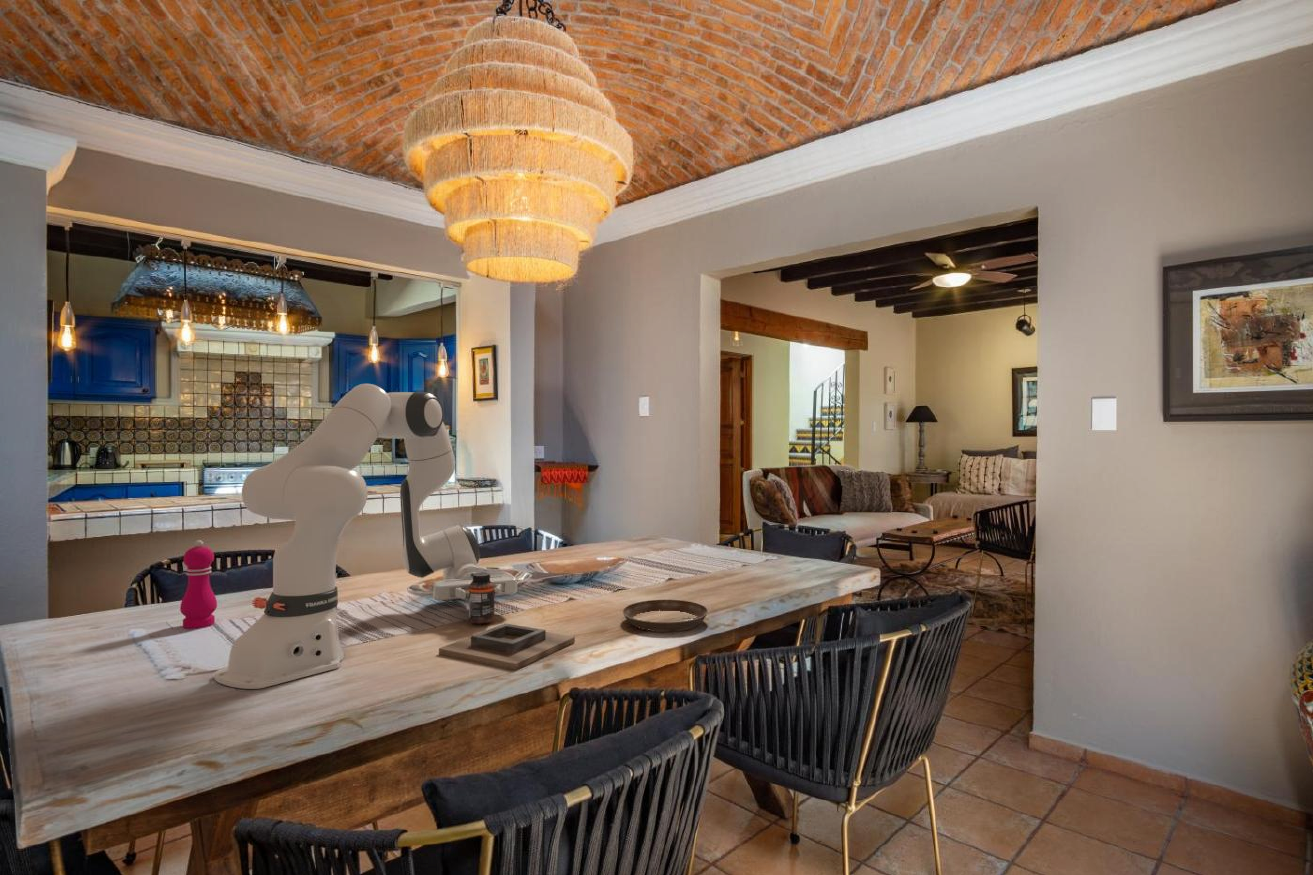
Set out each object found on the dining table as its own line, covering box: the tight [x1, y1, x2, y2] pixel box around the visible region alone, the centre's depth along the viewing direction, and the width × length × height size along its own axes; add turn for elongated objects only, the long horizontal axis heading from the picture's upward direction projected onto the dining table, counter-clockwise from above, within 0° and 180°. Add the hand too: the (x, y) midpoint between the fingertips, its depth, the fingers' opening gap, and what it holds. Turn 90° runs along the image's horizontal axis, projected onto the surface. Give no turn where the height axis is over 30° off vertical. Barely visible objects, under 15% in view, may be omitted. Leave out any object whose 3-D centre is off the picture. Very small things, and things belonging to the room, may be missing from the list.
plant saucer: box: [622, 599, 709, 633], centre depth 168 cm, size 21×21×3 cm
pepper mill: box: [179, 539, 218, 629], centre depth 163 cm, size 7×7×20 cm
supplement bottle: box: [467, 572, 495, 625], centre depth 166 cm, size 6×6×11 cm
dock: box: [438, 623, 576, 671], centre depth 147 cm, size 20×20×3 cm
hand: (482, 593), depth 165 cm, fingers closed on supplement bottle, 6 cm apart
